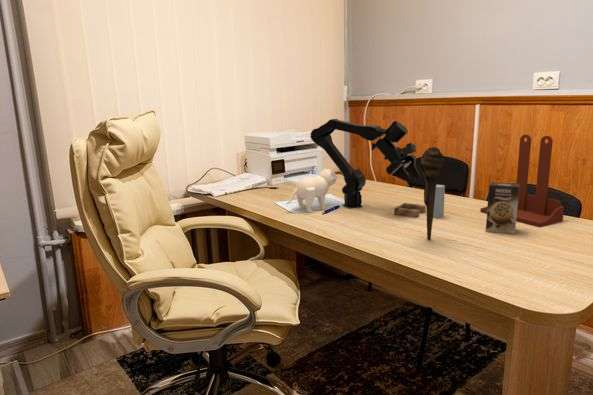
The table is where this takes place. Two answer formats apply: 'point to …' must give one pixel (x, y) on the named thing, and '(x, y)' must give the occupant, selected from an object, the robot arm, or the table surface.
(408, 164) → the robot arm
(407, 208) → the slot block
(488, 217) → the coffee box
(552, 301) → the table surface
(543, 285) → the table surface
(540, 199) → the hanging shelf
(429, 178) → the decorative torch
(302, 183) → the cat figurine
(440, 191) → the peg
